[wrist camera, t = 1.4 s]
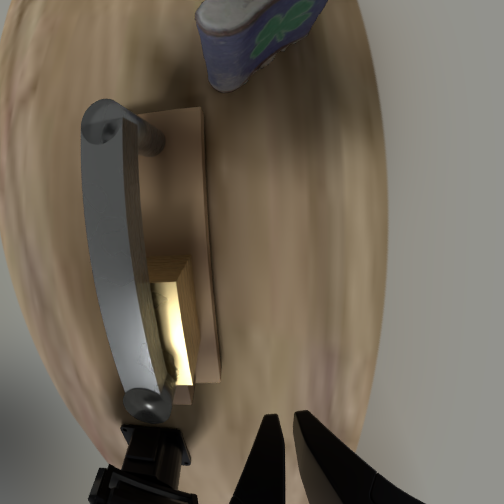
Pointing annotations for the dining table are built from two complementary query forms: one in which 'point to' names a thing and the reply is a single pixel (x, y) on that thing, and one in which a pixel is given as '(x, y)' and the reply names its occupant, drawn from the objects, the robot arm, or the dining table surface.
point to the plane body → (182, 222)
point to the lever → (124, 252)
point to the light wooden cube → (175, 314)
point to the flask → (249, 35)
